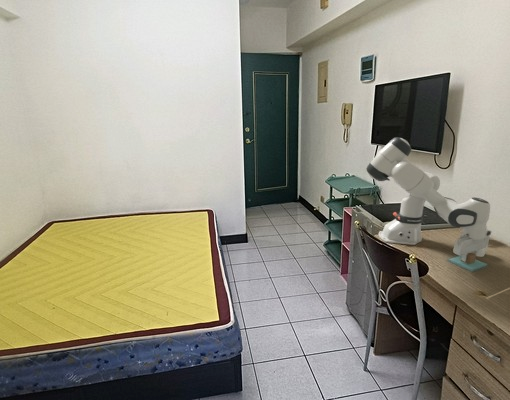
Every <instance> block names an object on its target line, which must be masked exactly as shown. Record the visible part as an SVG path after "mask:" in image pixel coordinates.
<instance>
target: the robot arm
mask: <svg viewBox="0 0 510 400" xmlns="http://www.w3.org/2000/svg"><path fill="white" fill-rule="evenodd" d="M411 152H412V147H411V145H410V143H409V142H408V140H406V139H404V138H402V137H398V136H397V137H393V138H392V139H391V140H389V142H388V143H387V144H386V145H384V146H383V147H382V148H380V149H379V150H378V151H377V153H376V155H375V156H374V157H373V159H372V160H371V162H369V164H367V167H366V172H367V173H368V176H369V177H370V178H371V179H373V180H375V181H377V182H385V181H389V182H390V181H391V179H389V178H392V179H393V182H394V184H396V185H398V186H399V187H400V188H402V189H403V190H404V191H406V193H408V195H407V196H405V197H403V198H402V199H401V202H400V210H399V213H397V212H396V211H395V212H393V213H392V215H393V216H394V217H395V218H394V219H393V220H391V221H390V222H387V223H386V224H385V225H384V226H383V229H382V230H379V232H378V237H379V238H380V240H381V241H383V242H386V243H390V244H400V245H402V244H403V245H409V246H410V245H412V246H415V245H417V244H418V243H421V242H422V241H423V238H422V229H421V228H422V224H423V218H424V217H423V212H424V206H425V203H426V202H427V203H428V204H430V205H431V206H432V207H433V208H434V212H435V214H436V215H437V216H438V217H440V218H441V219H443V220H444V221H445V222H447V223H448V225H451V226H452V227H454V228H462V231H461V235H460V236H459V237H458V238H456V241H454V242H455V243H454V245H453V250H452V251H453V254H455V255H457V256H462V259H461V260H462V261H467V257H466V255H467V254H468V253H473V254H475V255H476V254H477V252H478V250H480V249H483V248H486V246H487V245H489V242H490V241H489V240H490V236H491V235H492V230H490V229H487V223H488V221H489V219H490V213H491V204H490V202H489V201H488V200H486V199H483V198H480V197H470V198H469V199H468V200H467V201H464V202H462V203H458V202H457V201H456V200H455V199H453V198H450V197H445V196H443V195H442V194H441V193H439V192H438V190H439V188H440V186H441V180H440V177H438V176H437V175H435V174H433V173H431V172H428V171H423V170H422V169H421V168H419V167H418V166H416V165H414V164H413V162H411V161H410V160H409V159H408V158H407V157H409V156H410V154H411ZM487 247H488V246H487Z"/></svg>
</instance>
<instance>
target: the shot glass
mask: <svg viewBox="0 0 510 400" xmlns="http://www.w3.org/2000/svg"><path fill="white" fill-rule="evenodd" d="M488 245H489V244H488ZM488 245H487V246H486V248H483V249H480V250H478V252H477V254H476V257H481V258H482V257H485V255H486V252H487V249H488V248H487V247H488Z"/></svg>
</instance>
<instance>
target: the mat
mask: <svg viewBox="0 0 510 400" xmlns="http://www.w3.org/2000/svg"><path fill="white" fill-rule="evenodd" d="M449 259H450V258H448V259H445V261H446V262H448V263H450V264H452V265H455V266H458V267H459V268H461V269H463V270H466V271H468V272H470V273H472V274H473V273H476V272H478V271H481V270H484V269H487V268H489V267H490V265H488V264H487V266H484V267H481V268H479V269H476V270H473V271H470V270H468V269H466V268H464V267H462V266H459V265H457V264H455V263H453V262H450V261H449Z"/></svg>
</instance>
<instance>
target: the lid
mask: <svg viewBox="0 0 510 400" xmlns="http://www.w3.org/2000/svg"><path fill="white" fill-rule="evenodd" d="M466 257H467V261H462V260H461V259H462V256H459V255H457V256H455V257H451V258H448V259H449V261H450V262H453V263H455V264H457V265H459V266H462V267H464V268H466V269H468V270H470V271H473V270H476V269H479V268H481V267H484V266H487V265H488V264H487V263H485V262H483V261H481V260H478V259H476V257H477V256H476V255H475V254H473V253H468V254H467V255H466ZM450 262H449V263H450ZM457 265H456V266H457ZM459 266H458V267H459ZM468 270H467V271H468ZM470 271H469V272H470Z"/></svg>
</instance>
